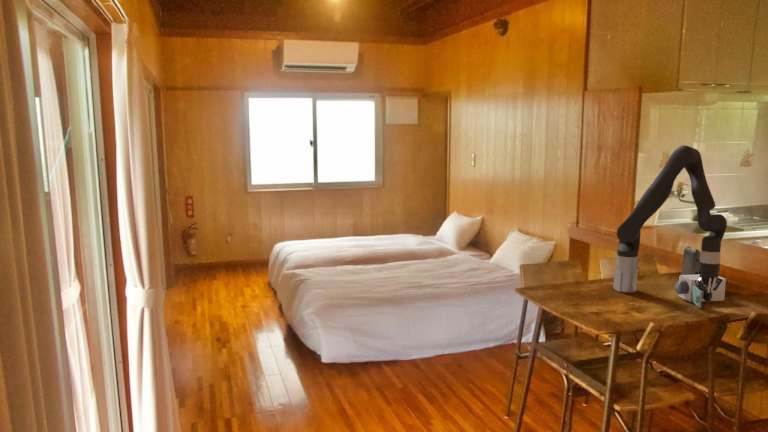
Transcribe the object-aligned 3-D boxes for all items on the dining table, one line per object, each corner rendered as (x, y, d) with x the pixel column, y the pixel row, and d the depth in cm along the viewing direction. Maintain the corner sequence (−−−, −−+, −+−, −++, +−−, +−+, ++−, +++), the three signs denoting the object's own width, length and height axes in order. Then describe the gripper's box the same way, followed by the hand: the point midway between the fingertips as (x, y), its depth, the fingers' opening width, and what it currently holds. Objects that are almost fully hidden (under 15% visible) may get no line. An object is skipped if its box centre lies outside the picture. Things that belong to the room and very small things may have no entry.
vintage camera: (722, 291, 266) (726, 250, 263) (689, 290, 266) (693, 249, 264) (710, 286, 276) (714, 246, 273) (679, 285, 276) (683, 246, 273)
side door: (688, 300, 249) (689, 284, 248) (693, 300, 248) (694, 285, 247) (695, 307, 238) (697, 291, 237) (701, 308, 238) (702, 291, 237)
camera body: (683, 302, 248) (685, 278, 247) (671, 296, 258) (672, 273, 256) (724, 300, 250) (726, 276, 248) (710, 294, 259) (712, 271, 257)
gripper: (714, 258, 242) (712, 296, 244) (690, 260, 238) (687, 299, 241) (729, 261, 235) (726, 301, 237) (704, 264, 231) (701, 304, 233)
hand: (707, 300), depth 239 cm, fingers closed
